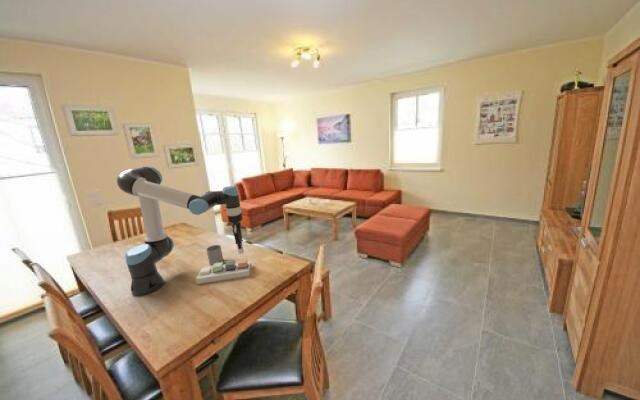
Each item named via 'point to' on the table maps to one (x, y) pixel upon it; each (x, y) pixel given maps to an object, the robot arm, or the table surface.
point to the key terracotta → (242, 263)
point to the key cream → (205, 271)
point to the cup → (214, 254)
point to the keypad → (224, 274)
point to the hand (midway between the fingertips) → (241, 252)
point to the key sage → (217, 267)
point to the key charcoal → (230, 265)
